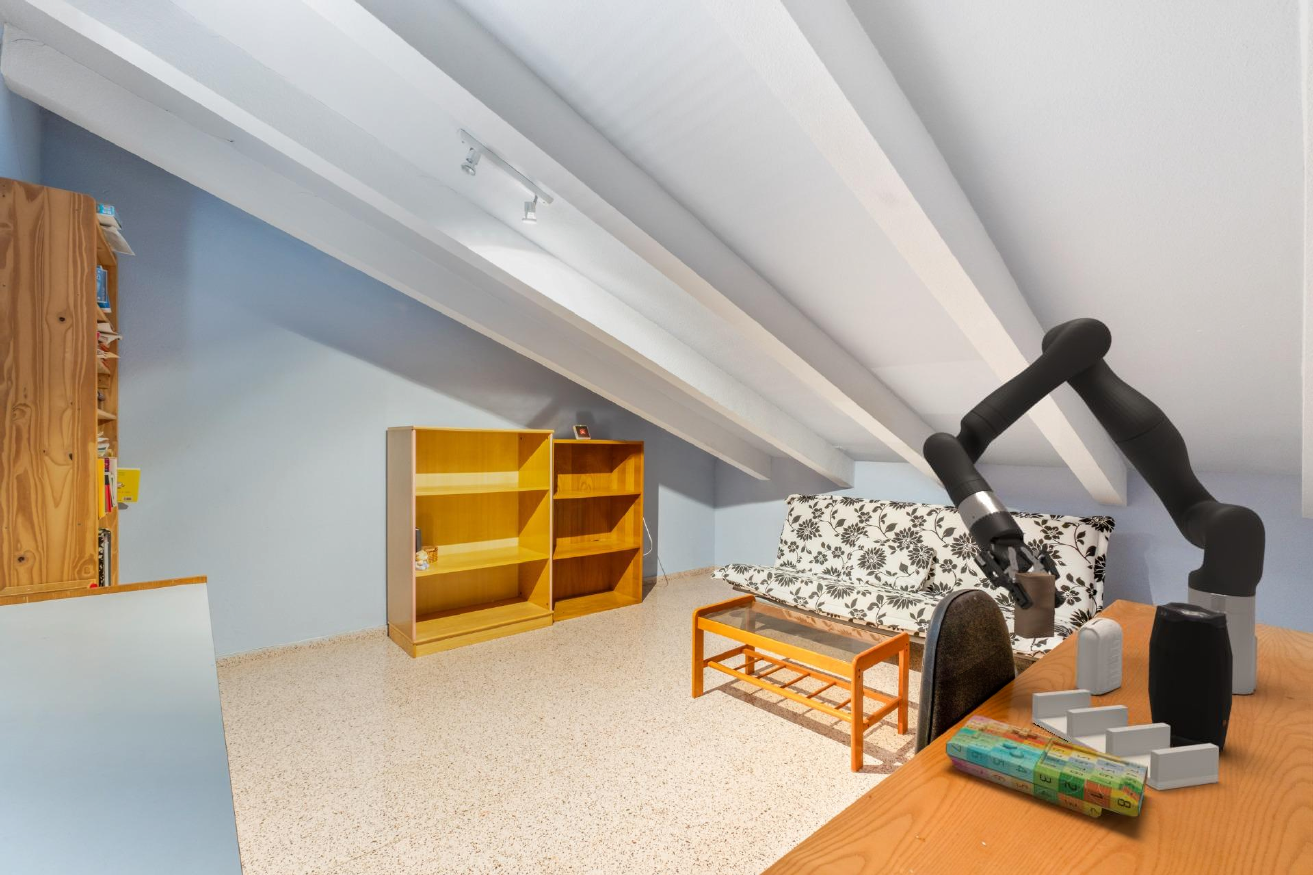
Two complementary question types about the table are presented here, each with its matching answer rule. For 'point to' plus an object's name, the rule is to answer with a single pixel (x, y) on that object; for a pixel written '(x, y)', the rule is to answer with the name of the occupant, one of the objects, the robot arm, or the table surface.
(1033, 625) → the walnut block
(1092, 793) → the puzzle game
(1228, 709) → the portable speaker
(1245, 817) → the table surface
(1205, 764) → the slotted rack
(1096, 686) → the photo printer
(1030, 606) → the robot arm
